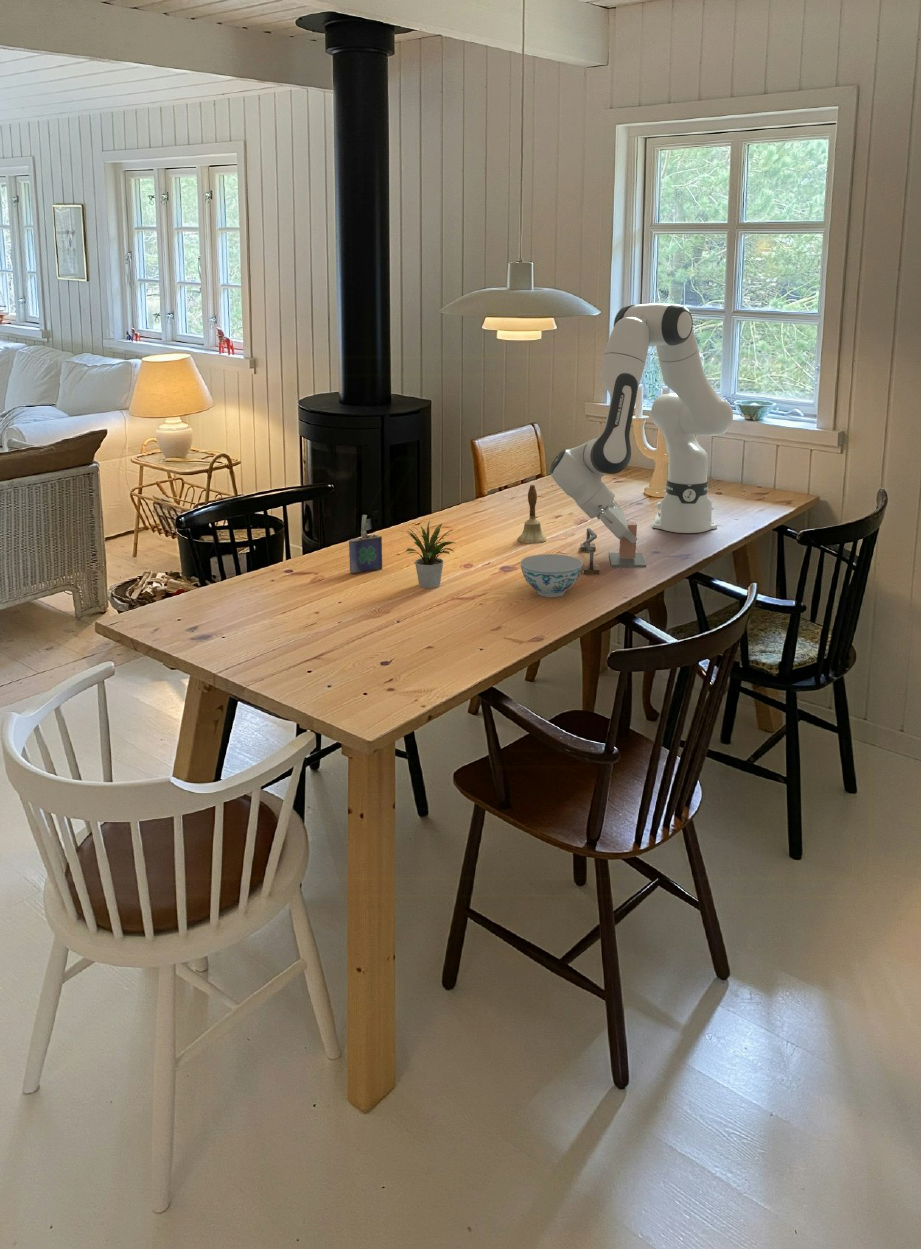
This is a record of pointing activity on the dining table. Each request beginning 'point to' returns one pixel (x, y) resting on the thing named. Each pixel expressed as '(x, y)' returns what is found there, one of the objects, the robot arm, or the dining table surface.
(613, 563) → the slate tile
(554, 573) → the chinaware
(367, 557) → the flask
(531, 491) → the hand bell
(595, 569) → the zigzag wire
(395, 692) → the dining table surface
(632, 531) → the brick block
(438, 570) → the house plant
